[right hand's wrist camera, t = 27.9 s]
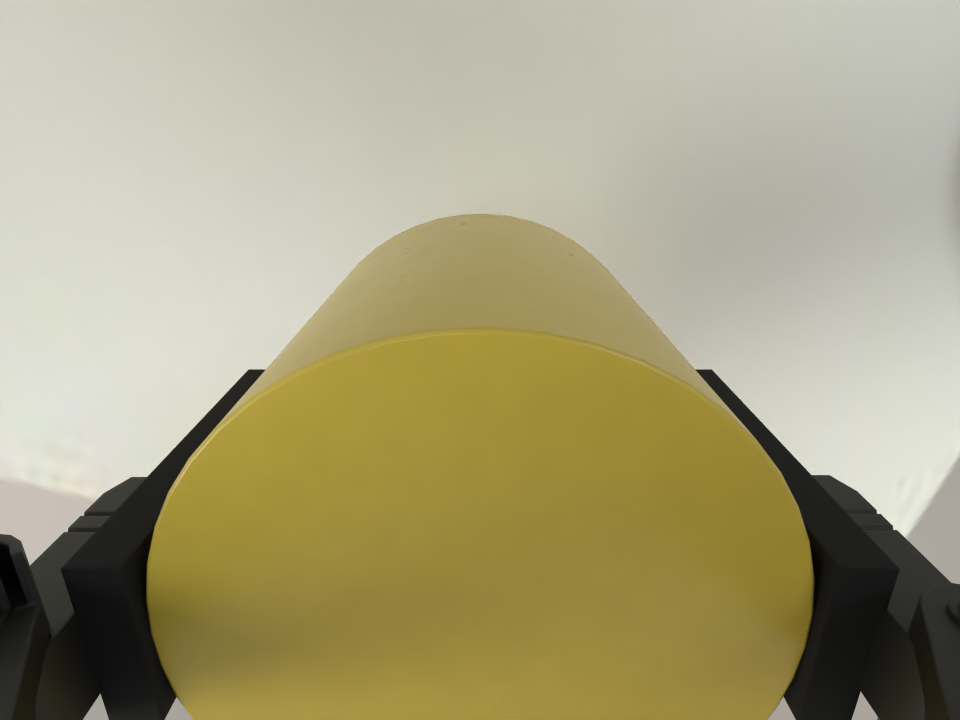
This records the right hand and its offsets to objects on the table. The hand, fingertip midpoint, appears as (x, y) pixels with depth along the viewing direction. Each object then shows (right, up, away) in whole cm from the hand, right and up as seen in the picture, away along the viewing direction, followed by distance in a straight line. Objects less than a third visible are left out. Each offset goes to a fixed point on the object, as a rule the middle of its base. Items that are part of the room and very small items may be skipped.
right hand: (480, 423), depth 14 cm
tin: (0, +1, +2) cm, 3 cm away
